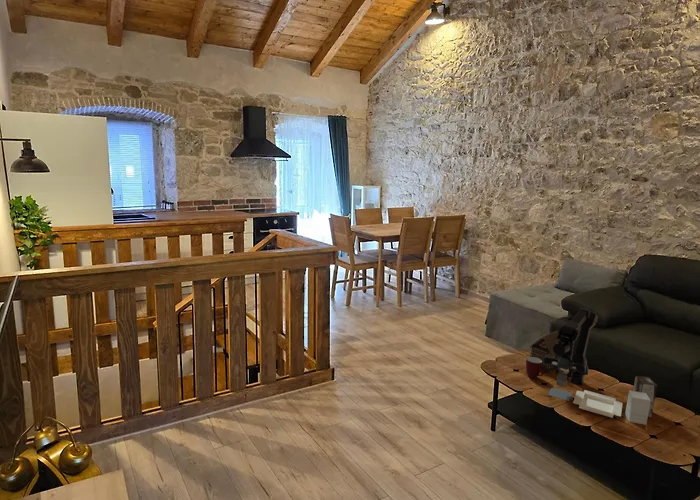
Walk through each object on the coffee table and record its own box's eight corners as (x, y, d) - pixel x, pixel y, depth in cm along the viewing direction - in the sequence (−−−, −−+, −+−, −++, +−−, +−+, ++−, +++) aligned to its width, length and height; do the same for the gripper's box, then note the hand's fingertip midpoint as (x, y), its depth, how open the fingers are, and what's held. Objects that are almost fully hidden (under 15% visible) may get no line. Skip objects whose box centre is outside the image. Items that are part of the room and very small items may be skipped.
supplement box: (642, 417, 218) (646, 393, 216) (646, 426, 211) (651, 400, 209) (624, 414, 220) (628, 389, 218) (628, 422, 213) (632, 397, 211)
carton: (577, 392, 240) (577, 388, 239) (622, 404, 229) (622, 400, 229) (571, 409, 222) (572, 405, 222) (619, 424, 212) (620, 419, 211)
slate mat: (551, 388, 243) (551, 387, 243) (572, 394, 238) (572, 392, 238) (547, 395, 235) (548, 394, 235) (569, 402, 230) (569, 400, 229)
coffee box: (652, 417, 219) (658, 385, 216) (637, 415, 220) (642, 383, 217) (644, 407, 228) (649, 377, 225) (629, 405, 229) (635, 375, 226)
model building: (550, 374, 259) (554, 340, 255) (525, 365, 270) (529, 332, 266) (564, 366, 271) (569, 333, 267) (541, 357, 282) (545, 326, 278)
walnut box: (558, 378, 239) (560, 367, 238) (567, 380, 237) (569, 369, 236) (556, 384, 233) (557, 373, 232) (565, 387, 231) (566, 375, 229)
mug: (547, 380, 252) (549, 362, 250) (538, 383, 248) (541, 366, 246) (529, 372, 261) (532, 355, 259) (521, 375, 256) (523, 358, 254)
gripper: (543, 350, 230) (539, 379, 233) (585, 360, 220) (580, 390, 223) (547, 343, 239) (544, 371, 242) (588, 352, 229) (583, 381, 232)
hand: (562, 378), depth 235 cm, fingers closed on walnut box, 4 cm apart
